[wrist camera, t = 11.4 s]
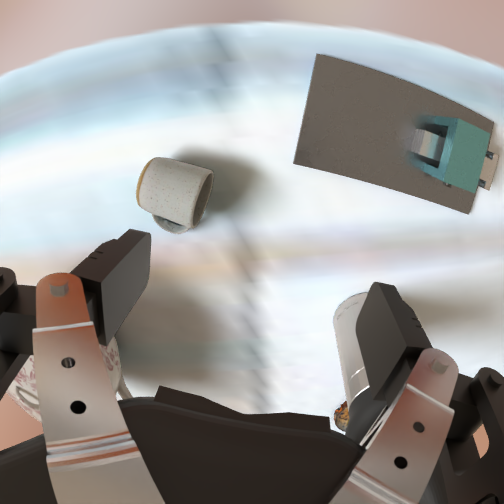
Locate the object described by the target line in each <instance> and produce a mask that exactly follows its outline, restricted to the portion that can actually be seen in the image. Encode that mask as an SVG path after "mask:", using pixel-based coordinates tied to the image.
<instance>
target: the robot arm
mask: <svg viewBox="0 0 504 504" xmlns="http://www.w3.org/2000/svg"><path fill="white" fill-rule="evenodd" d="M150 252H151V234H150V233H147V232H143V231H138V230H134V229H129V230H128V231H127V232H125V233H124V234H123V235H122V236H121V237H120V238H119V239H118V240H117V239H112V240H110V241H107V242H105V243H102V244H101V245H100V246H99V247H98V248H97V249H96V250H95V251H94V252H92V253H91V254H90V255H89V256H88V257H87V258H85V259H84V260H83V261H82V262H81V263H80V264H79V265H78V266H77V267H76V268H75V269H73V270H72V271H71V272H70V273H54V274H50V275H47V276H45V277H44V278H42V279H41V280H40V281H39V282H38V284H37V286H27V285H17V281H16V276H15V273H14V272H13V271H12V270H11V269H9V268H4V267H0V400H1V399H2V397H3V396H4V394H5V393H6V391H7V389H8V388H9V386H10V385H11V383H12V382H13V380H14V379H15V377H16V376H17V374H18V373H19V371H20V370H21V368H22V367H23V365H24V364H25V362H26V361H27V360H28V358H29V357H30V355H33V356H34V366H35V377H36V386H37V394H38V402H39V409H40V415H41V421H42V426H43V432H44V434H41V435H39V436H37V437H34V438H32V439H30V440H27V441H24V442H22V443H20V444H17V445H15V446H12V447H10V448H7V449H4V450H2V451H0V504H504V377H503V376H502V375H501V374H500V373H499V372H497V371H496V370H494V369H491V368H488V367H484V368H481V369H480V370H479V371H478V373H477V374H476V376H475V377H474V378H471V377H468V376H465V375H462V374H460V373H459V369H458V366H457V364H456V362H455V361H454V360H453V359H452V358H451V357H450V356H449V355H448V354H446V353H445V352H443V351H441V350H438V349H434V348H433V347H432V345H431V343H430V341H429V339H428V337H427V335H426V334H425V332H424V330H423V328H421V327H422V326H421V324H420V322H419V321H418V320H417V319H418V318H417V317H416V315H415V313H414V311H413V309H412V308H411V307H410V306H409V305H407V304H406V303H405V302H404V301H403V300H402V298H401V297H400V295H399V293H398V291H397V289H396V287H395V286H394V285H389V284H384V283H379V282H374V283H373V284H372V286H371V287H370V290H369V292H368V293H361V294H357V295H354V296H352V297H350V298H348V299H347V300H345V301H344V302H343V303H342V304H341V305H340V306H339V307H338V309H337V310H336V312H335V315H334V319H333V324H334V330H335V335H336V341H337V347H338V352H339V358H340V363H341V369H342V375H343V381H344V387H345V393H346V399H347V406H348V412H349V422H348V425H347V428H346V433H345V435H343V434H341V433H339V432H336V431H334V430H331V429H330V419H329V417H325V416H315V415H306V414H298V413H290V412H287V413H272V414H242V413H239V412H237V411H234V410H232V409H229V408H227V407H225V406H222V405H220V404H218V403H215V402H213V401H211V400H209V399H206V398H204V397H202V396H198V395H194V394H190V393H186V392H182V391H178V390H174V389H170V388H167V387H163V386H159V388H158V391H157V393H156V396H155V397H135V398H128V399H123V400H119V401H117V399H116V396H115V393H114V391H113V388H112V385H111V382H110V379H109V376H108V373H107V369H106V366H105V363H104V360H103V357H102V353H101V350H100V346H99V344H101V345H103V346H106V347H107V346H108V344H109V343H110V341H111V339H112V338H113V336H114V335H115V333H116V332H117V330H118V329H119V327H120V325H121V324H122V322H123V321H124V319H125V318H126V316H127V315H128V313H129V312H130V310H131V309H132V307H133V306H134V304H135V303H136V301H137V300H138V298H139V297H140V295H141V294H142V292H143V291H144V289H145V288H146V285H147V283H148V279H149V272H150ZM482 424H484V427H485V430H486V432H487V435H488V438H489V448H488V450H487V452H486V454H485V455H484V456H483V457H482V458H481V459H480V456H479V453H478V450H477V447H476V444H475V441H474V438H473V433H475V431H476V430H477V429H478V428H479V427H480V426H481V425H482Z"/></svg>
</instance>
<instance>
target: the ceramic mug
mask: <svg viewBox="0 0 504 504" xmlns="http://www.w3.org/2000/svg"><path fill="white" fill-rule="evenodd" d="M213 179H214V174H213V171H212V170H210V169H206V168H202V167H199V166H195V165H191V164H188V163H183V162H180V161H176V160H173V159H169V158H161V157H156V158H154V159H152V160H150V161H149V162H148V163H147V164H146V166H145V167H144V169H143V170H142V173H141V175H140V177H139V180H138V184H137V190H136V199H137V202H138V205H139V206H140V207H141V208H142V209H144V210H146V211H147V212H150V213H152V216H153V219H154V221H155V222H156V223H157V224H158V225H159V226H160V227H161V228H162V229H164V230H166V231H168V232H170V233H174V234H182V233H185V232H186V231H188V230H189V228H192V229H194V228H195V227H196V226H197V225H198V223H199V221H200V219H201V218H202V215H203V213H204V211H205V208H206V206H207V203H208V199H209V197H210V193H211V189H212V185H213ZM164 218H166V219H168V220H170V221H173V222H175V223H178V224H181V225H183V226H181V225H180V226H179V225H176V224H174V223H172V222H169V221H167V220H166V219H164Z"/></svg>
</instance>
